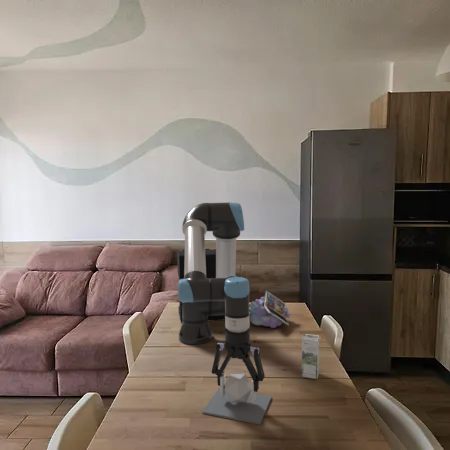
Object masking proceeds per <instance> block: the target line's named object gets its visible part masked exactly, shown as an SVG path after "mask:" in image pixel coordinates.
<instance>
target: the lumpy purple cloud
mask: <svg viewBox="0 0 450 450" xmlns="http://www.w3.org/2000/svg"><path fill="white" fill-rule="evenodd" d="M291 316H292V313H291V312H289V309H288V307H286V302H284V301H282V300H281V299H280V298H278V297H276V296H275V295H274V294H273V293H272V292H269V291H268V290H265V293H264V296H261V297H260V299H257V298H256V299H255V301H251V302H249V319H250V320H251V324H253V325H255V326H263V327H270V328H271V329H275V328H277V327H280V326H281V325H282V324H285V325H286V326H287V327H290V325H289V323H290V322H288V320H287V319H289V318H291Z"/></svg>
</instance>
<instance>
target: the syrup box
mask: <svg viewBox="0 0 450 450" xmlns="http://www.w3.org/2000/svg"><path fill="white" fill-rule="evenodd" d="M319 362H320V335H317V334H308V333H303V334H302V337H301V378H303V379H304V378H305V379H310V380H318V378H319V374H320V367H319V366H320V365H319V364H320V363H319Z"/></svg>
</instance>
